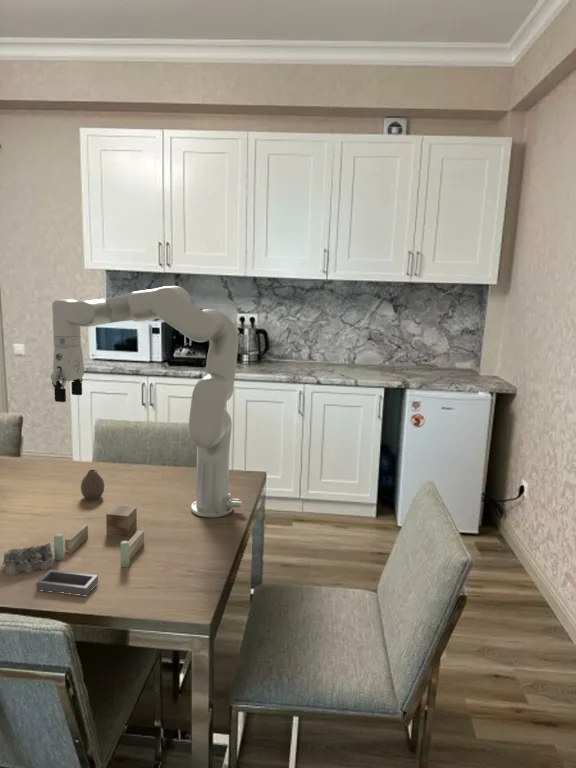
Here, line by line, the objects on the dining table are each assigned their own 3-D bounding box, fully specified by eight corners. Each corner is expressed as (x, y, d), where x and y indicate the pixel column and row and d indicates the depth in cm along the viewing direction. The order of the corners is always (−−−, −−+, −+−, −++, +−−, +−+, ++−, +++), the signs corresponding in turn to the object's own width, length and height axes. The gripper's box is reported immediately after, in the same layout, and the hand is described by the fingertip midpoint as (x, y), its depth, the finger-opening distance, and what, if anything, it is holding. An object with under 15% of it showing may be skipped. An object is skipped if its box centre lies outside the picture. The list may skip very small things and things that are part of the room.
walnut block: (136, 527, 160) (136, 507, 158) (127, 537, 154) (127, 516, 153) (116, 525, 160) (115, 505, 159) (106, 534, 155) (106, 514, 153)
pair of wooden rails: (144, 543, 151) (143, 530, 150) (130, 559, 142) (129, 546, 141) (82, 536, 153) (82, 524, 152) (65, 552, 144) (64, 539, 143)
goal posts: (130, 564, 140) (130, 541, 139) (127, 568, 138) (127, 545, 137) (57, 555, 142) (56, 533, 141) (53, 559, 140) (52, 536, 139)
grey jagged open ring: (3, 578, 132) (1, 561, 131) (4, 562, 139) (3, 547, 138) (53, 570, 136) (52, 554, 135) (52, 555, 143) (51, 540, 142)
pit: (98, 583, 131) (97, 575, 130) (86, 596, 125) (86, 588, 125) (50, 577, 132) (50, 569, 132) (36, 590, 127) (36, 582, 126)
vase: (89, 504, 174) (89, 476, 172) (76, 497, 178) (75, 470, 176) (109, 497, 179) (108, 470, 177) (95, 491, 183) (95, 465, 181)
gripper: (64, 346, 161) (65, 405, 164) (92, 339, 178) (94, 393, 181) (38, 344, 162) (41, 403, 165) (70, 337, 179) (71, 391, 182)
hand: (68, 398), depth 173 cm, fingers open, 9 cm apart
